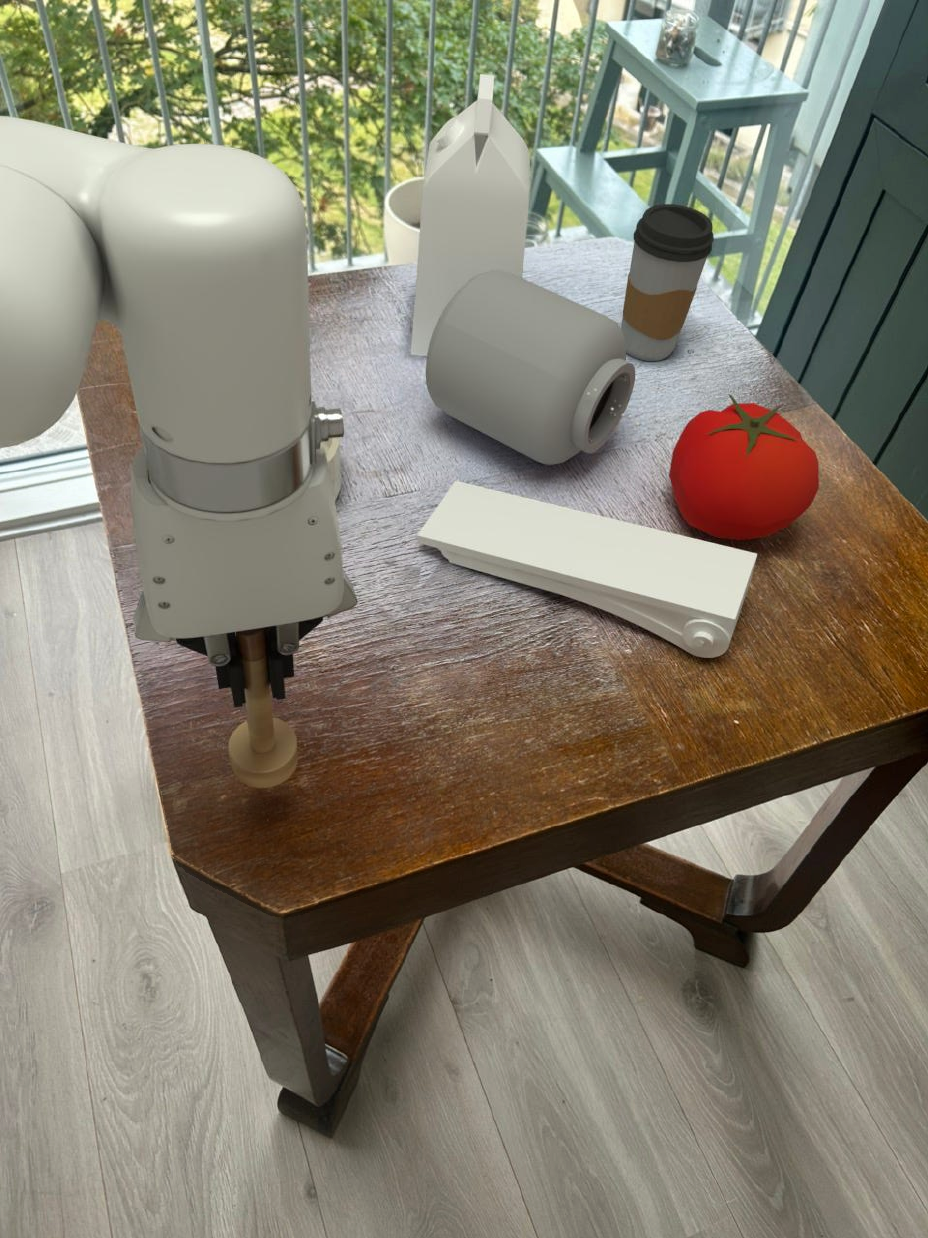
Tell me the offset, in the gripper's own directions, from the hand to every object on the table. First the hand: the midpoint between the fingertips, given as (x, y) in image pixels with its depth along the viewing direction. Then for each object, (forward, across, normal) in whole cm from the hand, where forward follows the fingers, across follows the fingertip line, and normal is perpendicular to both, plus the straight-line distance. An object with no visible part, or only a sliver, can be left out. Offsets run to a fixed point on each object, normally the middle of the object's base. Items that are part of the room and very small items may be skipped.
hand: (256, 683), depth 57 cm
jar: (+14, -35, -35) cm, 51 cm away
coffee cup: (+14, -51, -49) cm, 72 cm away
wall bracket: (+14, -30, -16) cm, 37 cm away
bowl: (+14, -6, -33) cm, 37 cm away
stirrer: (+9, 0, 0) cm, 9 cm away
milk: (+14, -31, -56) cm, 65 cm away
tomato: (+14, -47, -20) cm, 53 cm away
